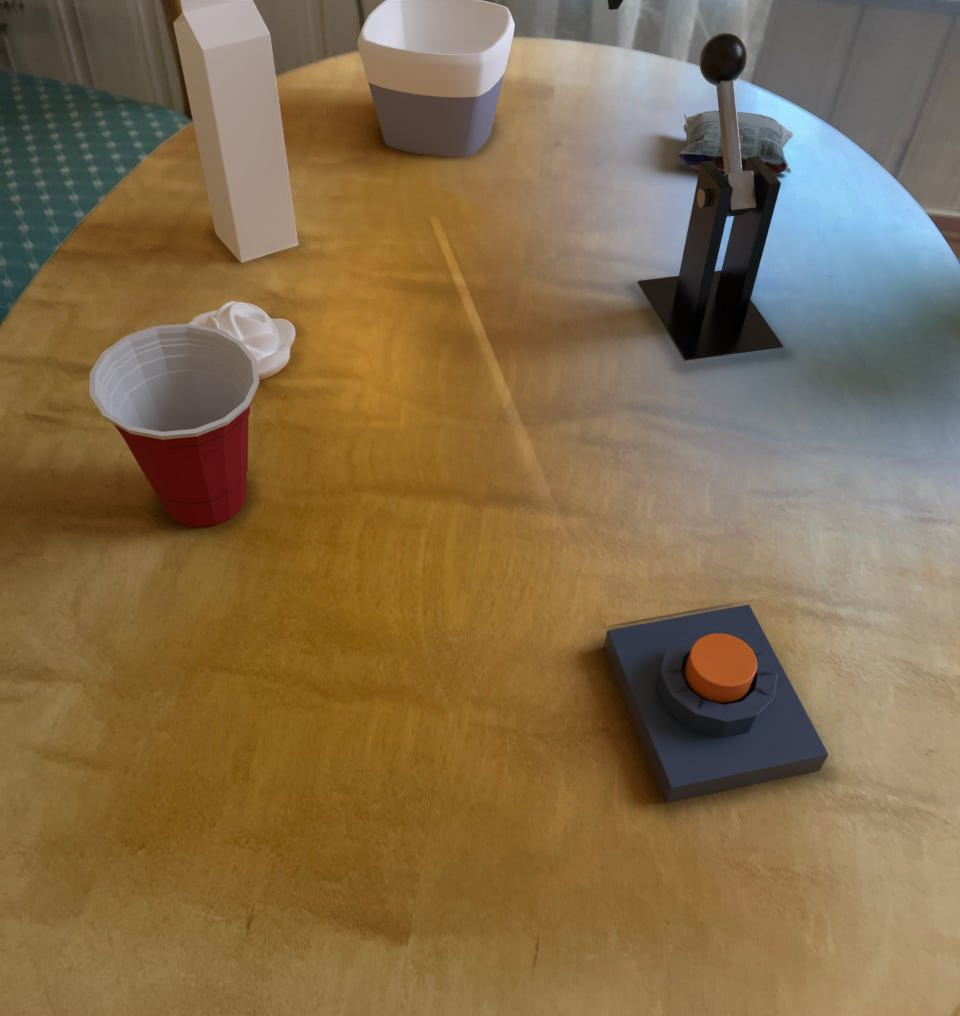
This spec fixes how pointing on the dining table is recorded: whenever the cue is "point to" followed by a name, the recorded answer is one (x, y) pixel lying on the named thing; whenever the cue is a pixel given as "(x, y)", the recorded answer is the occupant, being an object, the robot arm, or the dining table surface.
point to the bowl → (436, 72)
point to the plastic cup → (182, 415)
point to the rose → (253, 333)
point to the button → (720, 667)
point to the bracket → (718, 294)
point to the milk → (237, 124)
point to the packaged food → (754, 137)
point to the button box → (710, 708)
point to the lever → (729, 114)
